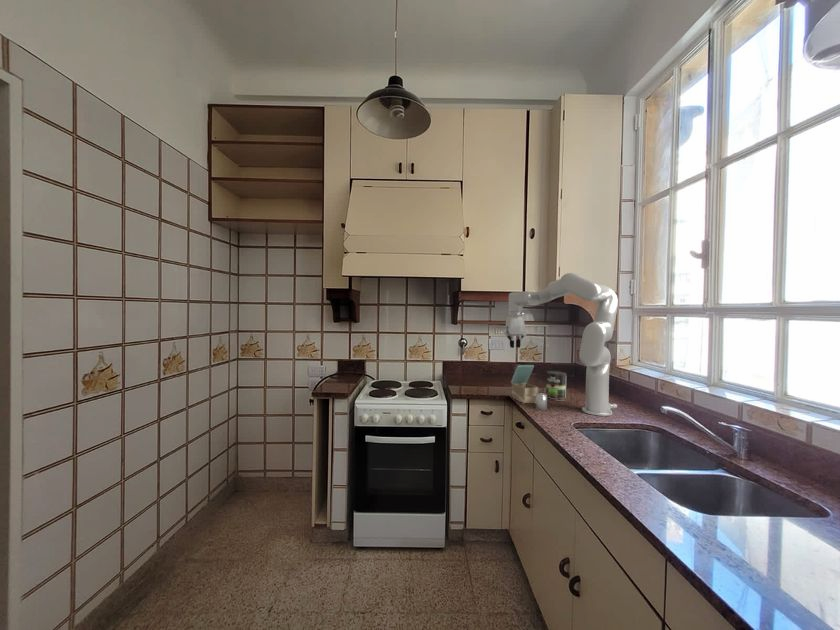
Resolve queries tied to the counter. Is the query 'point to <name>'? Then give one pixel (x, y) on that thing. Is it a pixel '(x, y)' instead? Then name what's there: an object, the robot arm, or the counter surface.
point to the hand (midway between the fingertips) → (515, 347)
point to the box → (524, 392)
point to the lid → (522, 374)
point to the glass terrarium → (556, 384)
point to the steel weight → (541, 400)
